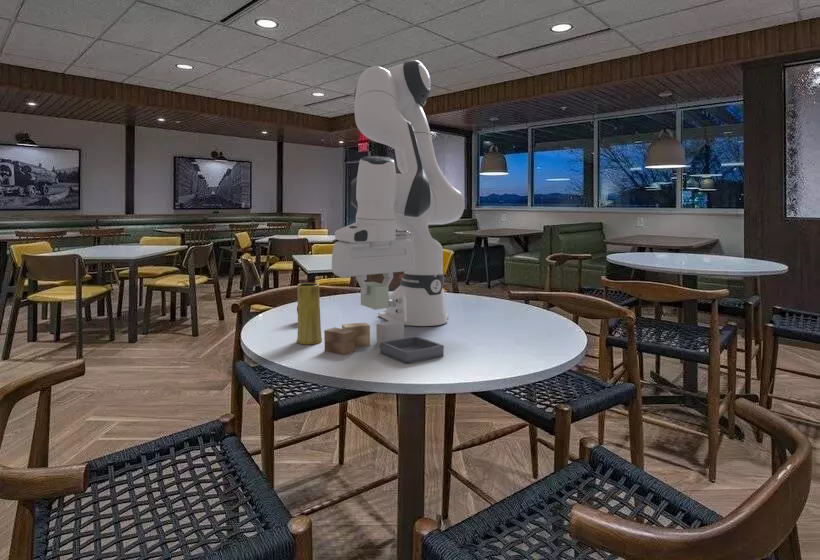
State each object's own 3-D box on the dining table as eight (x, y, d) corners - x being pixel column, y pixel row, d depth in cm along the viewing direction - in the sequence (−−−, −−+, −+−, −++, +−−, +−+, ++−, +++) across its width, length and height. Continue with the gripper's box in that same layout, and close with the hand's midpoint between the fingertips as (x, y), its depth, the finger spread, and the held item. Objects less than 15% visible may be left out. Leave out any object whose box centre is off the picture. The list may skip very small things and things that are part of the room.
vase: (310, 346, 124) (308, 287, 122) (291, 342, 127) (289, 284, 125) (326, 340, 129) (326, 283, 127) (308, 337, 132) (307, 281, 130)
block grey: (386, 346, 124) (386, 326, 124) (376, 343, 127) (376, 323, 126) (403, 341, 129) (404, 322, 128) (394, 339, 131) (394, 320, 130)
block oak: (345, 348, 123) (345, 327, 122) (342, 344, 126) (341, 324, 125) (370, 345, 125) (369, 325, 124) (365, 342, 128) (365, 322, 127)
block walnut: (324, 351, 120) (324, 330, 119) (334, 348, 123) (334, 327, 122) (344, 355, 116) (344, 334, 116) (354, 352, 119) (354, 331, 119)
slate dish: (380, 352, 118) (380, 342, 118) (416, 346, 124) (416, 336, 124) (406, 364, 110) (406, 352, 110) (443, 356, 116) (443, 345, 116)
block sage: (360, 304, 118) (360, 283, 117) (373, 302, 120) (373, 281, 119) (375, 309, 113) (375, 287, 113) (388, 307, 116) (388, 285, 115)
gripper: (404, 229, 122) (403, 286, 125) (328, 231, 110) (327, 295, 113) (421, 231, 117) (419, 291, 120) (343, 234, 105) (342, 301, 108)
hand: (374, 293), depth 116 cm, fingers closed on block sage, 3 cm apart
